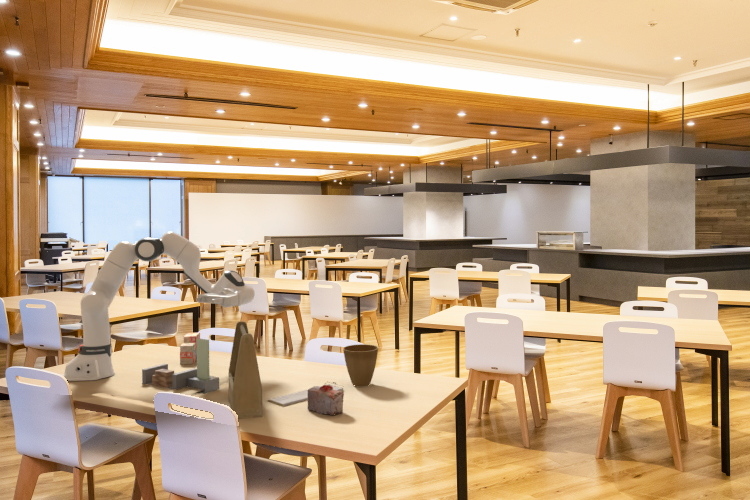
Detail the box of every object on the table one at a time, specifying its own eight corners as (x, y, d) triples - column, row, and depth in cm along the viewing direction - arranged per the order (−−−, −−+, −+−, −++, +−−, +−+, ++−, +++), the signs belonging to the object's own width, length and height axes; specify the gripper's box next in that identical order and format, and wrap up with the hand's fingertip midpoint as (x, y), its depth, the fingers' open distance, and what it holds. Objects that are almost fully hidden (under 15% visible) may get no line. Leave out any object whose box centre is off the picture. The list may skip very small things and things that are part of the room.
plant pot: (357, 378, 267) (357, 342, 266) (384, 383, 258) (384, 346, 257) (336, 385, 254) (336, 348, 254) (364, 391, 246) (364, 352, 245)
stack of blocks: (192, 364, 295) (192, 339, 295) (179, 364, 295) (179, 339, 294) (200, 355, 317) (200, 332, 316) (188, 355, 316) (187, 332, 316)
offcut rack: (198, 386, 253) (198, 368, 253) (176, 393, 243) (175, 374, 243) (164, 380, 263) (164, 363, 263) (142, 386, 253) (142, 369, 252)
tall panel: (209, 387, 247) (209, 339, 246) (206, 388, 246) (206, 340, 245) (199, 386, 250) (199, 338, 249) (197, 387, 249) (196, 339, 248)
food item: (347, 412, 218) (347, 385, 217) (333, 418, 211) (333, 390, 211) (318, 406, 226) (318, 380, 225) (304, 411, 219) (304, 384, 219)
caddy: (262, 416, 213) (262, 332, 212) (232, 419, 210) (231, 334, 209) (255, 394, 241) (254, 320, 240) (227, 397, 238) (227, 321, 237)
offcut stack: (176, 385, 250) (176, 370, 250) (167, 387, 246) (166, 373, 246) (161, 382, 254) (160, 368, 254) (151, 384, 250) (151, 370, 250)
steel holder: (219, 389, 249) (219, 377, 249) (205, 393, 242) (205, 381, 242) (201, 386, 254) (201, 374, 254) (187, 390, 247) (187, 378, 247)
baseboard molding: (264, 401, 234) (282, 408, 225) (264, 394, 233) (282, 400, 225) (324, 386, 256) (343, 391, 247) (324, 379, 256) (343, 384, 247)
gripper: (210, 289, 281) (188, 292, 269) (243, 291, 271) (222, 294, 259) (210, 303, 281) (188, 306, 269) (244, 305, 271) (222, 309, 259)
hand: (205, 300), depth 264 cm, fingers open, 8 cm apart
